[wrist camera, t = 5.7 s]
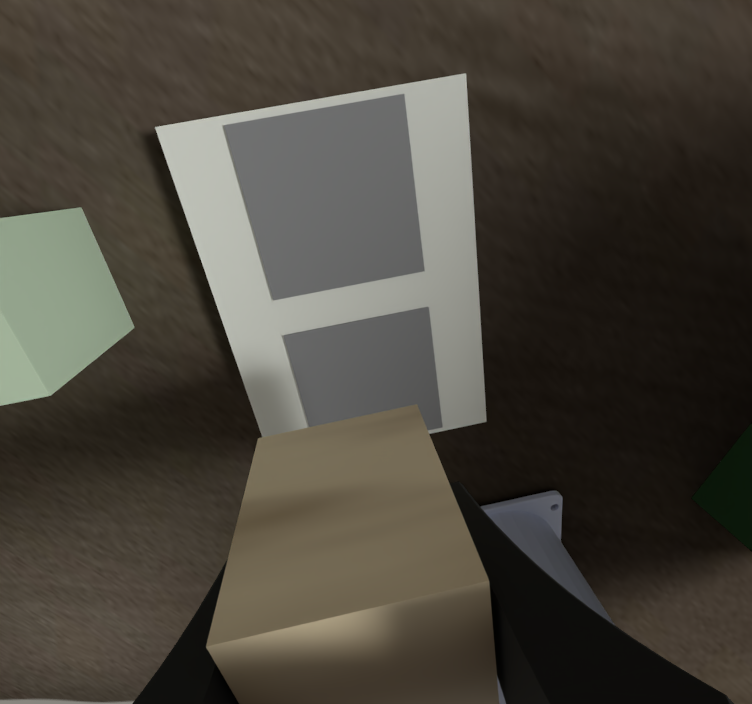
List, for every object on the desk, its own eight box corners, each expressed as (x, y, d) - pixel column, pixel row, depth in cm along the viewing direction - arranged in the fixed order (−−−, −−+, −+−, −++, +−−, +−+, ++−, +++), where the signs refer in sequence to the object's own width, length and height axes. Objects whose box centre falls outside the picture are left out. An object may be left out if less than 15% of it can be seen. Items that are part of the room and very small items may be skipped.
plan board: (479, 411, 21) (487, 422, 20) (274, 454, 21) (272, 468, 20) (457, 79, 15) (466, 72, 14) (165, 130, 15) (153, 127, 14)
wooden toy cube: (434, 519, 15) (501, 725, 9) (298, 550, 14) (283, 780, 9) (417, 404, 13) (489, 581, 7) (257, 438, 12) (205, 646, 7)
